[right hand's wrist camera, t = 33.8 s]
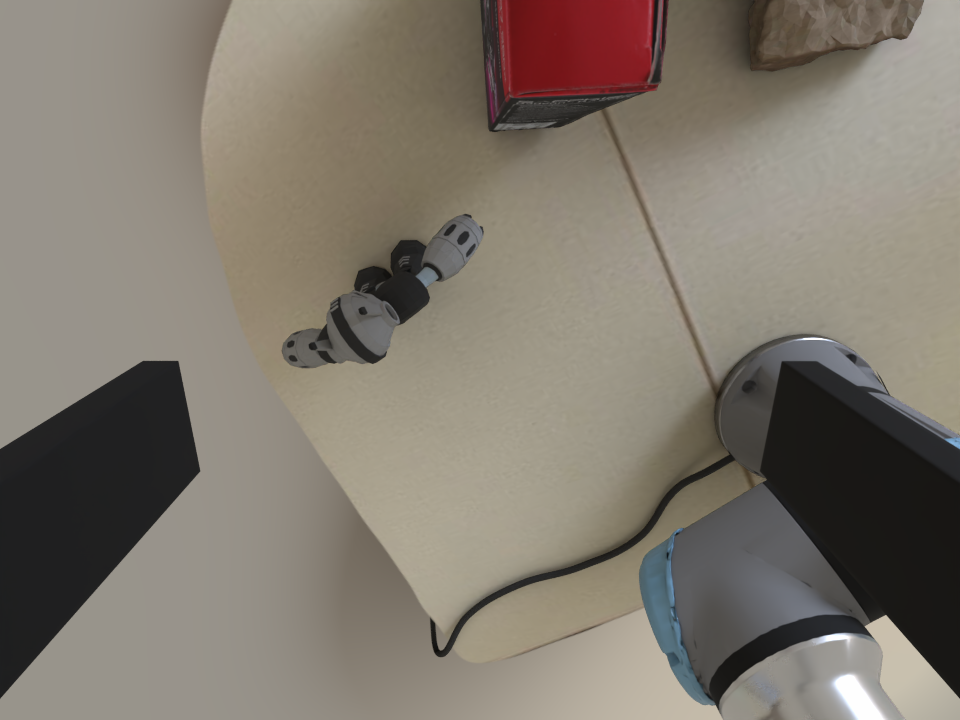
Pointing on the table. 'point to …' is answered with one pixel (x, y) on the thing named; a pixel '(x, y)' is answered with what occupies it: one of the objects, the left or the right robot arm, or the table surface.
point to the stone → (823, 28)
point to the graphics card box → (568, 57)
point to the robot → (384, 299)
